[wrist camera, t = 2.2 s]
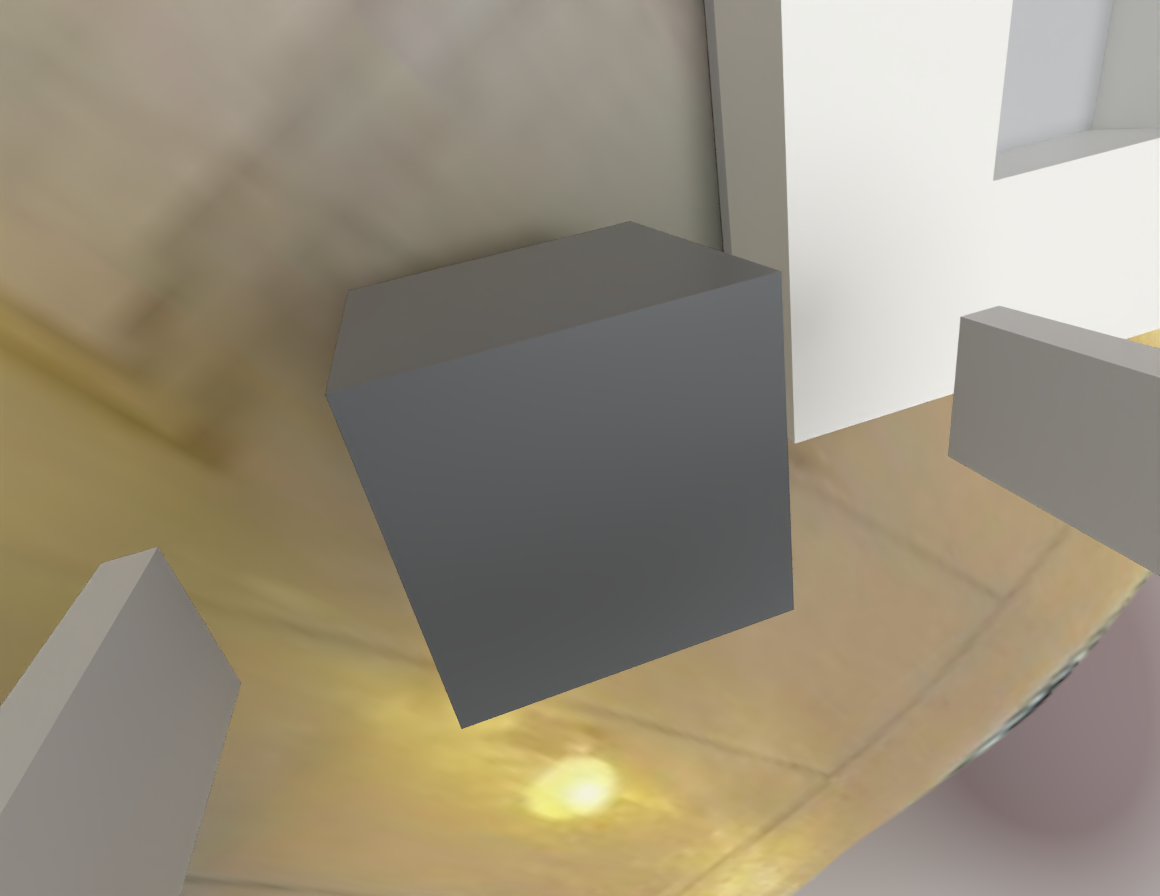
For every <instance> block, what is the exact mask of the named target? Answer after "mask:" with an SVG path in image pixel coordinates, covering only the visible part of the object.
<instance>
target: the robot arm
mask: <svg viewBox="0 0 1160 896" xmlns="http://www.w3.org/2000/svg"><path fill="white" fill-rule="evenodd" d="M948 456H949V457H951V458H952V459H954V460H956V461H958V462H959V463H961V464H963V465H965V466H966V467H968V468H970V469H972V470H974V471H975V472H977V473H979V474H981V475H982V476H984V477H986V478H988V479H989V480H991V481H993V482H995V483H997V484H998V485H1000V486H1002V487H1004V488H1005V489H1007V490H1009V491H1011V492H1012V493H1014V494H1016V495H1018V496H1020V497H1021V498H1023V499H1025V500H1027V501H1028V502H1030V503H1032V504H1034V505H1035V506H1037V507H1039V508H1041V509H1042V510H1044V511H1046V512H1048V513H1050V514H1051V515H1053V516H1055V517H1057V518H1058V519H1060V520H1062V521H1064V522H1065V523H1067V524H1069V525H1071V526H1073V527H1074V528H1076V529H1078V530H1080V531H1081V532H1083V533H1085V534H1087V535H1088V536H1090V537H1092V538H1094V539H1095V540H1097V541H1099V542H1101V543H1103V544H1104V545H1106V546H1108V547H1110V548H1111V549H1113V550H1115V551H1117V552H1118V553H1120V554H1122V555H1124V556H1126V557H1127V558H1129V559H1131V560H1133V561H1134V562H1136V563H1138V564H1140V565H1141V566H1143V567H1145V568H1147V569H1149V570H1150V571H1152V572H1154V573H1156V574H1157V575H1159V576H1160V349H1159V348H1156V347H1152V346H1148V345H1144V344H1141V343H1137V342H1133V341H1129V340H1126V339H1122V338H1118V337H1115V336H1111V335H1107V334H1103V333H1100V332H1096V331H1092V330H1088V329H1085V328H1081V327H1077V326H1074V325H1070V324H1066V323H1062V322H1059V321H1055V320H1051V319H1047V318H1044V317H1040V316H1036V315H1033V314H1029V313H1025V312H1021V311H1018V310H1014V309H1010V308H1006V307H1003V306H996V307H992V308H989V309H985V310H982V311H978V312H975V313H971V314H968V315H964V316H961V317H960V328H959V339H958V350H957V361H956V372H955V383H954V394H953V405H952V416H951V427H950V438H949V449H948ZM240 685H241V682H240V680H239V678H238V677H237V675H236V673H235V672H234V670H233V668H232V667H231V665H230V664H229V662H228V660H227V659H226V657H225V655H224V654H223V652H222V650H221V649H220V647H219V646H218V644H217V642H216V641H215V639H214V637H213V636H212V634H211V632H210V631H209V629H208V628H207V626H206V624H205V623H204V621H203V619H202V618H201V616H200V614H199V613H198V611H197V610H196V608H195V606H194V605H193V603H192V601H191V600H190V598H189V596H188V595H187V593H186V592H185V590H184V588H183V587H182V585H181V583H180V582H179V580H178V578H177V577H176V575H175V574H174V572H173V570H172V569H171V567H170V565H169V564H168V562H167V560H166V559H165V557H164V556H163V554H162V552H161V551H160V549H159V547H156V548H152V549H149V550H145V551H142V552H138V553H135V554H131V555H128V556H124V557H121V558H117V559H114V560H111V561H107V562H104V563H101V564H100V566H99V567H98V569H97V570H96V571H95V573H94V574H93V576H92V577H91V578H90V580H89V581H88V583H87V584H86V586H85V587H84V588H83V590H82V591H81V593H80V594H79V596H78V597H77V598H76V600H75V601H74V603H73V604H72V606H71V607H70V608H69V610H68V611H67V613H66V614H65V616H64V617H63V618H62V620H61V621H60V623H59V624H58V625H57V627H56V628H55V630H54V631H53V633H52V634H51V635H50V637H49V638H48V640H47V641H46V643H45V644H44V645H43V647H42V648H41V650H40V651H39V653H38V654H37V655H36V657H35V658H34V660H33V661H32V663H31V664H30V665H29V667H28V668H27V670H26V671H25V672H24V674H23V675H22V677H21V678H20V680H19V681H18V682H17V684H16V685H15V687H14V688H13V690H12V691H11V692H10V694H9V695H8V697H7V698H6V700H5V701H4V702H3V704H2V705H1V707H0V896H180V894H181V891H182V887H183V884H184V880H185V877H186V873H187V870H188V866H189V863H190V859H191V856H192V852H193V849H194V845H195V842H196V838H197V835H198V832H199V828H200V825H201V821H202V818H203V814H204V811H205V807H206V804H207V800H208V797H209V793H210V790H211V786H212V783H213V779H214V776H215V772H216V769H217V765H218V762H219V758H220V755H221V751H222V748H223V744H224V741H225V737H226V734H227V730H228V727H229V723H230V720H231V717H232V713H233V710H234V706H235V703H236V699H237V696H238V692H239V689H240Z"/></svg>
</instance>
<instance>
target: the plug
mask: <svg viewBox="0 0 1160 896" xmlns="http://www.w3.org/2000/svg"><path fill="white" fill-rule="evenodd" d="M325 395H326V398H327V400H328V402H329V405H330V407H331V410H332V412H333V415H334V417H335V420H336V422H337V424H338V427H339V429H340V432H341V434H342V437H343V439H344V442H345V444H346V447H347V449H348V451H349V454H350V456H351V459H352V461H353V464H354V466H355V469H356V471H357V474H358V476H359V478H360V481H361V483H362V486H363V488H364V491H365V493H366V496H367V498H368V501H369V503H370V505H371V508H372V510H373V513H374V515H375V518H376V520H377V523H378V525H379V527H380V530H381V532H382V535H383V537H384V540H385V542H386V545H387V547H388V550H389V552H390V554H391V557H392V559H393V562H394V564H395V567H396V569H397V572H398V574H399V577H400V579H401V581H402V584H403V586H404V589H405V591H406V594H407V596H408V599H409V601H410V603H411V606H412V608H413V611H414V613H415V616H416V618H417V621H418V623H419V626H420V628H421V630H422V633H423V635H424V638H425V640H426V643H427V645H428V648H429V650H430V653H431V655H432V657H433V660H434V662H435V665H436V667H437V670H438V672H439V675H440V677H441V680H442V682H443V684H444V687H445V689H446V692H447V694H448V697H449V699H450V702H451V704H452V706H453V709H454V711H455V714H456V716H457V719H458V721H459V724H460V726H461V729H463V728H466V727H469V726H471V725H474V724H477V723H480V722H482V721H485V720H488V719H491V718H494V717H496V716H499V715H502V714H505V713H507V712H510V711H513V710H516V709H519V708H521V707H524V706H527V705H530V704H532V703H535V702H538V701H541V700H544V699H546V698H549V697H552V696H555V695H557V694H560V693H563V692H566V691H569V690H571V689H574V688H577V687H580V686H582V685H585V684H588V683H591V682H594V681H596V680H599V679H602V678H605V677H607V676H610V675H613V674H616V673H619V672H621V671H624V670H627V669H630V668H632V667H635V666H638V665H641V664H644V663H646V662H649V661H652V660H655V659H657V658H660V657H663V656H666V655H669V654H671V653H674V652H677V651H680V650H682V649H685V648H688V647H691V646H694V645H696V644H699V643H702V642H705V641H708V640H710V639H713V638H716V637H719V636H721V635H724V634H727V633H730V632H733V631H735V630H738V629H741V628H744V627H746V626H749V625H752V624H755V623H758V622H760V621H763V620H766V619H769V618H771V617H774V616H777V615H780V614H783V613H785V612H788V611H791V610H794V603H793V575H792V548H791V521H790V494H789V467H788V439H787V412H786V385H785V358H784V331H783V303H782V276H781V271H779V270H776V269H773V268H770V267H767V266H764V265H761V264H758V263H755V262H752V261H749V260H746V259H743V258H740V257H737V256H733V255H730V254H727V253H724V252H721V251H718V250H715V249H712V248H709V247H706V246H703V245H700V244H697V243H694V242H691V241H688V240H685V239H682V238H679V237H676V236H673V235H670V234H667V233H664V232H661V231H658V230H655V229H652V228H649V227H646V226H643V225H640V224H637V223H634V222H631V221H629V222H625V223H621V224H617V225H613V226H609V227H605V228H601V229H597V230H592V231H588V232H584V233H580V234H576V235H572V236H568V237H564V238H560V239H556V240H552V241H548V242H544V243H540V244H536V245H531V246H527V247H523V248H519V249H515V250H511V251H507V252H503V253H499V254H495V255H491V256H487V257H483V258H479V259H475V260H471V261H466V262H462V263H458V264H454V265H450V266H446V267H442V268H438V269H434V270H430V271H426V272H422V273H418V274H414V275H410V276H405V277H401V278H397V279H393V280H389V281H385V282H381V283H377V284H373V285H369V286H365V287H361V288H357V289H353V290H349V291H348V295H347V299H346V304H345V308H344V313H343V317H342V321H341V326H340V330H339V335H338V339H337V344H336V348H335V353H334V357H333V361H332V366H331V370H330V375H329V379H328V384H327V388H326V393H325Z"/></svg>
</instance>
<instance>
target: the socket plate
mask: <svg viewBox="0 0 1160 896" xmlns="http://www.w3.org/2000/svg"><path fill="white" fill-rule="evenodd" d="M704 4H705V17H706V30H707V42H708V55H709V68H710V81H711V94H712V107H713V119H714V132H715V145H716V158H717V171H718V184H719V197H720V209H721V222H722V235H723V248H724V253H727V254H730V255H733V256H737V257H740V258H743V259H746V260H749V261H752V262H755V263H758V264H761V265H764V266H767V267H770V268H773V269H776V270H779V271H781V276H782V303H783V331H784V358H785V385H786V412H787V438H788V439H789V440H791V441H792V442H793V443H798V442H802V441H805V440H808V439H811V438H814V437H817V436H821V435H824V434H827V433H830V432H833V431H836V430H839V429H843V428H846V427H849V426H852V425H855V424H858V423H862V422H865V421H868V420H871V419H874V418H877V417H881V416H884V415H887V414H890V413H893V412H896V411H900V410H903V409H906V408H909V407H912V406H915V405H919V404H922V403H925V402H928V401H931V400H934V399H938V398H941V397H944V396H947V395H950V394H953V393H954V383H955V372H956V361H957V350H958V339H959V328H960V317H961V316H964V315H968V314H971V313H975V312H978V311H982V310H985V309H989V308H992V307H996V306H1003V307H1006V308H1010V309H1014V310H1018V311H1021V312H1025V313H1029V314H1033V315H1036V316H1040V317H1044V318H1047V319H1051V320H1055V321H1059V322H1062V323H1066V324H1070V325H1074V326H1077V327H1081V328H1085V329H1088V330H1092V331H1096V332H1100V333H1103V334H1107V335H1111V336H1115V337H1118V338H1122V339H1127V338H1130V337H1134V336H1137V335H1140V334H1143V333H1146V332H1149V331H1153V330H1156V329H1159V328H1160V0H704Z"/></svg>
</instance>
